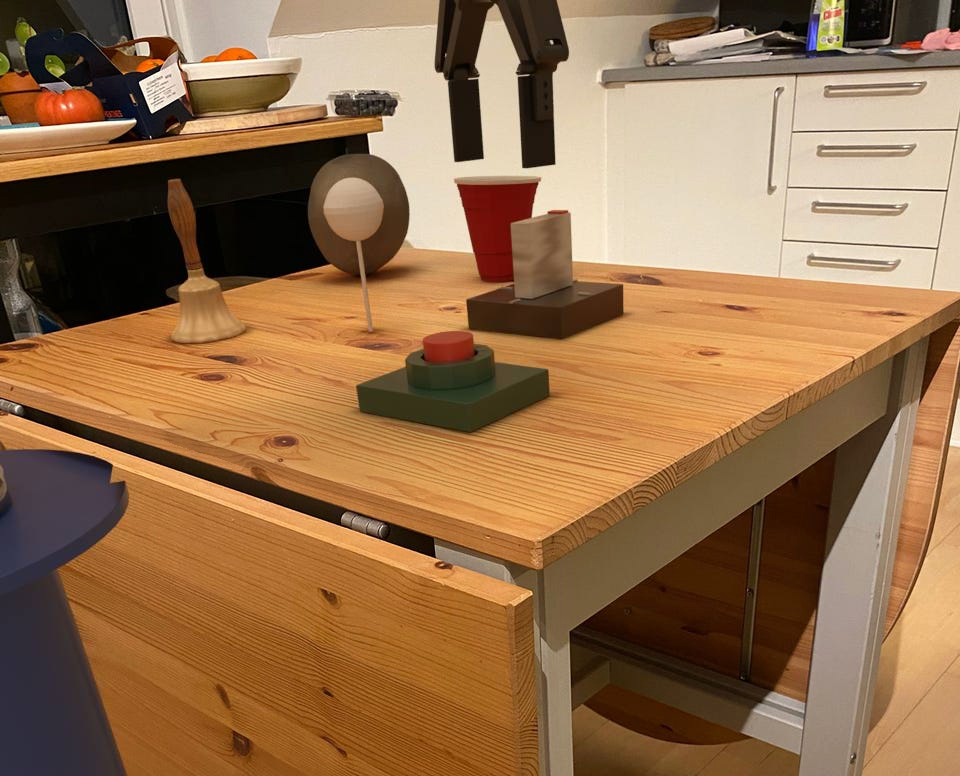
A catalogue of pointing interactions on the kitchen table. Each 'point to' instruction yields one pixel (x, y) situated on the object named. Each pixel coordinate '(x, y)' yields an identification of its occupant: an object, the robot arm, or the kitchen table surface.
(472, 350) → the bell button
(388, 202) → the brown ovoid
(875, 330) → the kitchen table surface
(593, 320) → the plate
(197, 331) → the hand bell
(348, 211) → the lollipop
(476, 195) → the plastic cup
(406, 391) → the button box
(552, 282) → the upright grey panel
